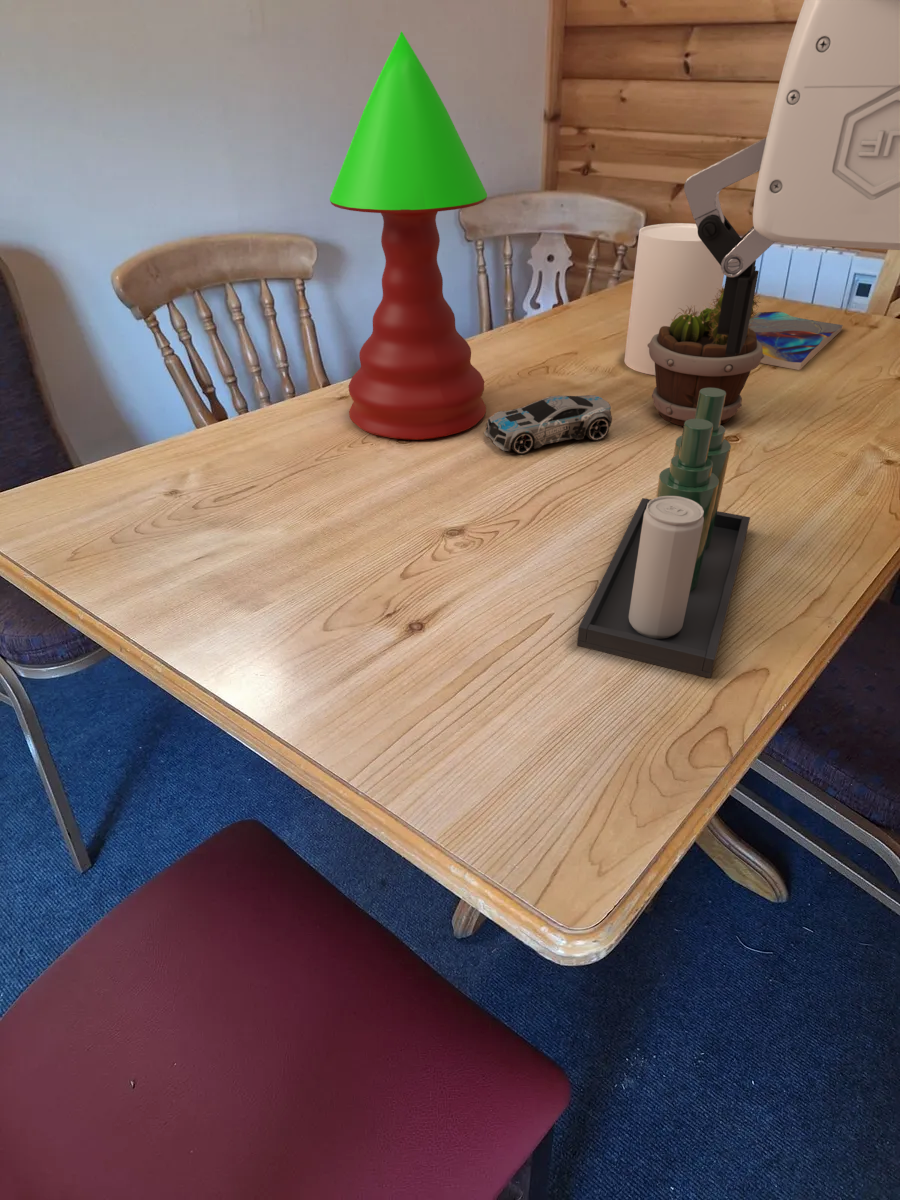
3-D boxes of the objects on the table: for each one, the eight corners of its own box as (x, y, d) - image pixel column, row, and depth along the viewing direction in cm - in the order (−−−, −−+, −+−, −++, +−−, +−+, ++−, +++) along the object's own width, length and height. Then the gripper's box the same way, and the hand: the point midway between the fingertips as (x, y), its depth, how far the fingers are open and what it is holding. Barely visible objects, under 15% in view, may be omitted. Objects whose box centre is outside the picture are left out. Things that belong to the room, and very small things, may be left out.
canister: (717, 376, 123) (742, 240, 112) (631, 377, 124) (648, 241, 112) (696, 349, 134) (718, 222, 123) (618, 349, 135) (632, 223, 123)
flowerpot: (618, 410, 113) (635, 264, 101) (693, 388, 119) (717, 248, 107) (693, 445, 103) (722, 287, 91) (770, 419, 109) (806, 268, 97)
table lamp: (378, 453, 102) (346, 30, 76) (331, 403, 117) (291, 33, 91) (510, 425, 109) (522, 27, 83) (450, 381, 124) (444, 31, 97)
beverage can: (644, 603, 73) (662, 489, 66) (691, 623, 70) (715, 506, 63) (617, 627, 70) (634, 510, 63) (666, 649, 68) (688, 529, 61)
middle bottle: (702, 571, 77) (734, 416, 68) (693, 599, 74) (725, 439, 64) (649, 560, 79) (674, 408, 70) (638, 587, 75) (662, 430, 66)
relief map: (757, 317, 149) (760, 306, 148) (841, 330, 142) (844, 319, 140) (708, 353, 133) (710, 341, 131) (799, 370, 125) (802, 357, 124)
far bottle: (714, 532, 83) (744, 386, 74) (706, 557, 79) (738, 405, 70) (665, 523, 85) (689, 379, 76) (655, 547, 81) (679, 397, 72)
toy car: (479, 437, 106) (479, 402, 103) (588, 417, 111) (591, 383, 108) (501, 459, 100) (502, 422, 97) (616, 437, 105) (620, 402, 102)
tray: (746, 533, 84) (750, 516, 83) (710, 678, 65) (715, 659, 64) (639, 514, 88) (642, 497, 87) (576, 645, 69) (578, 626, 68)
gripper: (702, -54, 32) (651, 362, 42) (1237, -94, 26) (1029, 403, 36) (728, -40, 37) (677, 324, 47) (1173, -70, 31) (1008, 354, 41)
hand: (828, 358), depth 41 cm, fingers open, 9 cm apart
